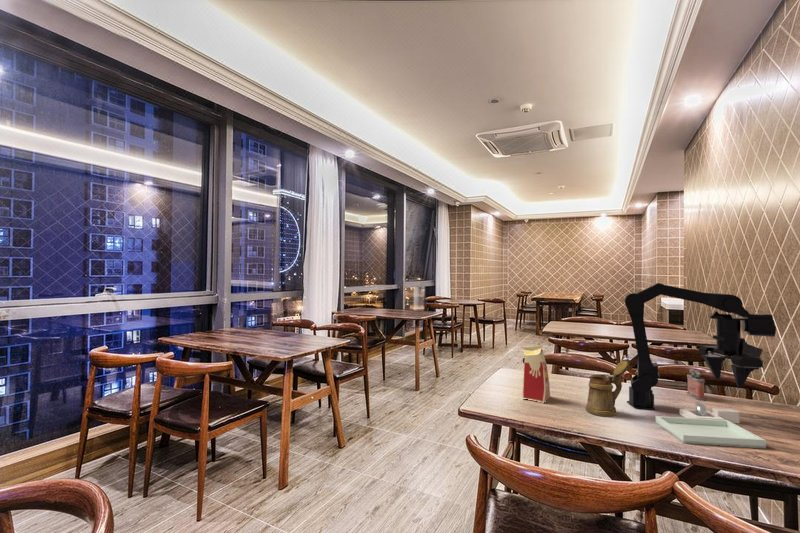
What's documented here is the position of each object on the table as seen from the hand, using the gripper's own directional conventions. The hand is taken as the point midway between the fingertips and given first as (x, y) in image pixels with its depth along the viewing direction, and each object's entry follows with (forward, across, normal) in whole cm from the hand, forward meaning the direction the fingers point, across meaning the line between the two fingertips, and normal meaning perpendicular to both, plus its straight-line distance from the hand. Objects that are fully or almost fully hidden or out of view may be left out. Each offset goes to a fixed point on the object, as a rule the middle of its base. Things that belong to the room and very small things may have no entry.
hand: (728, 383), depth 116 cm
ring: (+12, 0, +5) cm, 13 cm away
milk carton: (+12, +14, +56) cm, 59 cm away
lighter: (+12, +23, -5) cm, 27 cm away
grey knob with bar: (+12, 0, +8) cm, 15 cm away
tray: (+12, -12, +14) cm, 22 cm away
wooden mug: (+12, +2, +35) cm, 37 cm away
